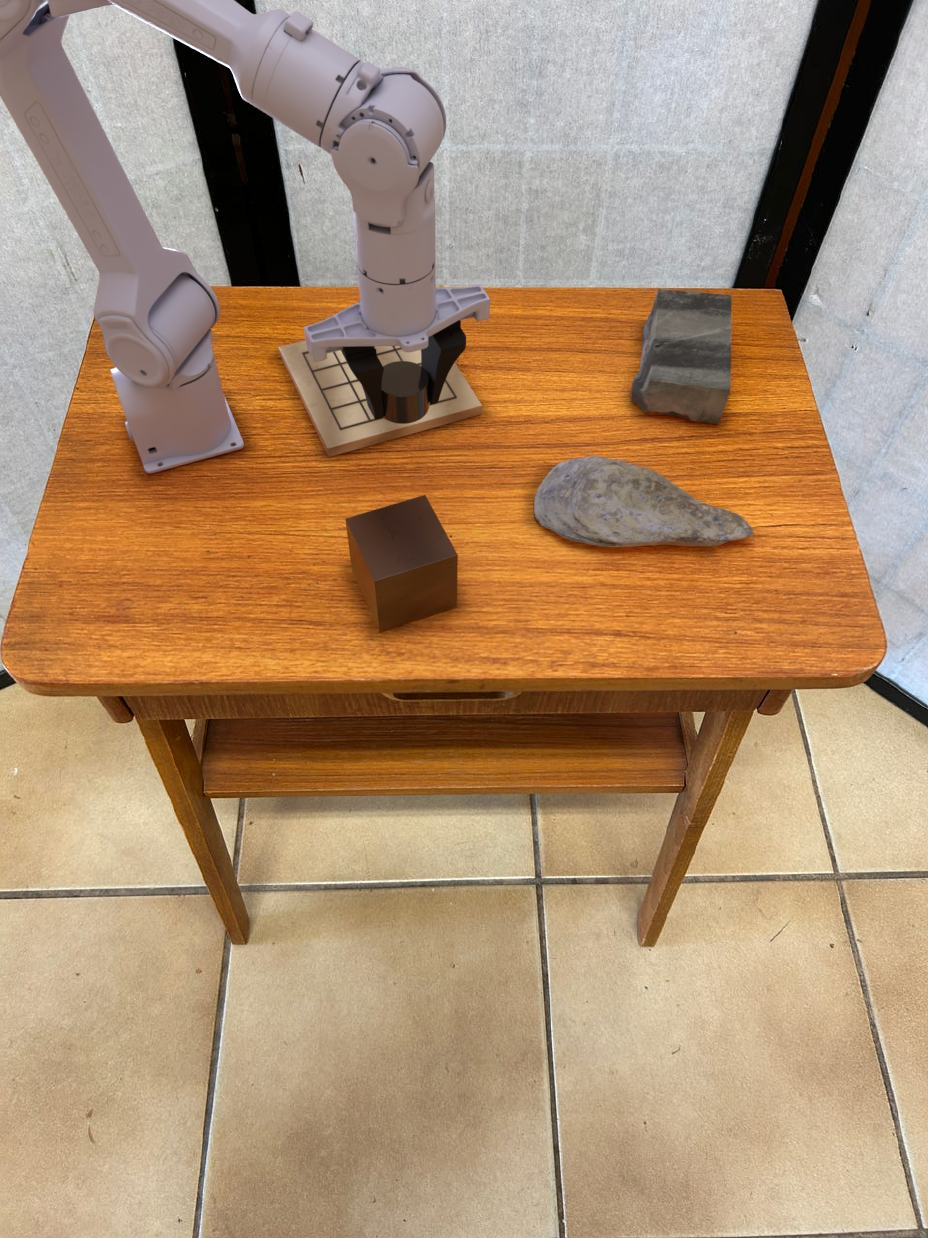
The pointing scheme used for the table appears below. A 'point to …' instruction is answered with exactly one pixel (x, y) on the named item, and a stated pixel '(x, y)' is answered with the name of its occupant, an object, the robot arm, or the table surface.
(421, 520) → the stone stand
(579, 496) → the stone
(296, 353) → the grid board
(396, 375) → the black cylinder
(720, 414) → the stone block
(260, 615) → the table surface
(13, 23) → the robot arm
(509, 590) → the table surface
